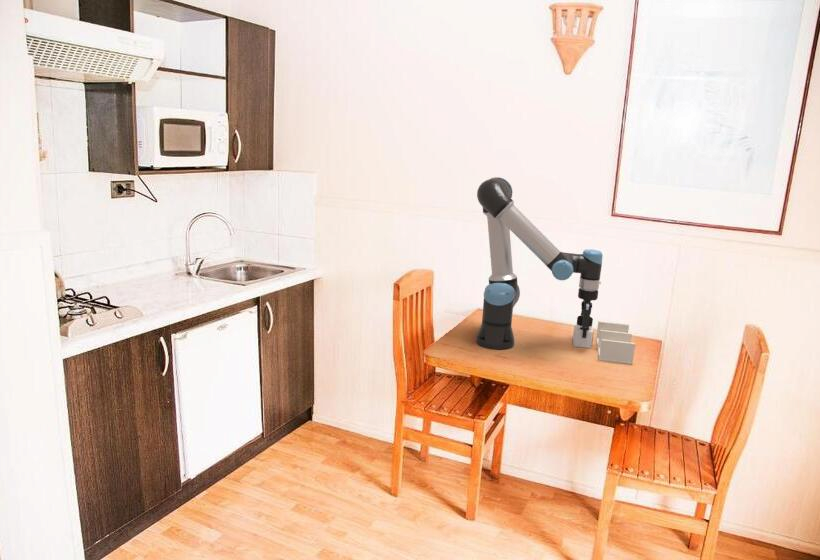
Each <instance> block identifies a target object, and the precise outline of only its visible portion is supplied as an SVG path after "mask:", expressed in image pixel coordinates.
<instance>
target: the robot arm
mask: <svg viewBox="0 0 820 560" xmlns="http://www.w3.org/2000/svg"><path fill="white" fill-rule="evenodd" d="M476 197H477V201H478V203H479V205H480V206H481V207H482V214H483V215H485V216H486V217H487V218H486V219H487V231H488V242H489V253H490V254H489V255H490V266H491V274H490V276H489V277H488V285H486V287H485V288H484V292H483V305H482V306H483V307H482V316H481V317H482V320H481V324H480V327H479V329H478V332H477V334H476V337H475V342H476V344H477V345H479V346H480V347H484V348H488V349H492V350H507V349H508V350H509V349H511V348H513V347H514V346H515V335H514V331H513V328H512V321H513V311H514V308H515V306H516V305H517V303H518V302H519V299H520V296H521V290H520V286H519V285H518V276H517V275H516V274H515V273H514V271H513V270H514V269H513V258H512V257H513V256H512V243H511V241H512V240H511V232H512V234H514V235H515V236H516V238H518V239H519V240H520V242H521V243H523V244H524V245H525V246H526V248H528V249H529V250H530V251H531V252H532V253H533V254H534V256H535V257H537V258H538V259H539V261H541V262H542V263H543V265H545V266H546V267H547V268H548V269H549V270H550V271H551V273H552V276H553V277H554V278H555V279H556V280H558V281H566V280H568V279H570V277H572V274H579V276H580V277H579V283H578V293H577V296H578V299H581V300H583V301H581V312H580V316H581V315H583V320H582V327H580V329H581V335H580V343H579V345H585V346H587V338H588V330H589V321H590V317H591V314H592V309H593V303H592V301H596V300H597V299H598V296H599V288H600V285H601V283H602V282H601V281H600V279H601V272H602V267H603V266H602V265H603V253H602V251H600V250H597V249H590V248H589V249H584V250H583V251H582V253H579V254H578V253H573V252H572V253H570V252H563V251H561V250H560V249H559V248H558V247H556V246H555V245H554V243H553V242H551V241H550V240H549V239H548V238H547V236H546V235H544V234H543V232H542V231H540V229H539V228H538V227H536V225H534V224H533V222H532V221H530V219H528V218H527V217H526V215H525V214H523V212H522V211H521V210H519V208H518V207H516V205H515V204H514V203H515V202H514V200H513V199H512V197H513V187H512V185H511V184H510V182H509V181H508V180H507V179H505V178H503V177H499V176H498V177H495V176H494V177H491V178H489V179H486V180H484V181H483V182H481V183H480V185H479V186H478V188H477V192H476ZM584 326H587V327H584Z"/></svg>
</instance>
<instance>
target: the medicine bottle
mask: <svg viewBox="0 0 820 560" xmlns="http://www.w3.org/2000/svg"><path fill="white" fill-rule="evenodd" d="M593 319H594V318H592V317H591V316H590V321H589V330H588V338H587V346H585V345H579V343H580V335H581V329H580V327H582V320H583V315H581V314H580V315H578V316H577V317H576V324H574V325H573V326H574V327H573V334H572V345H573V347H575V348H583V349H592V347H593V339H594V329H593V321H594V320H593ZM584 327H587V326H584Z"/></svg>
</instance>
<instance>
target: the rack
mask: <svg viewBox="0 0 820 560" xmlns="http://www.w3.org/2000/svg"><path fill="white" fill-rule="evenodd" d="M629 328H630V324H626V323H621V322H620V323H619V322H611V321H610V322H609V321H602V320H601V321H600V320H598V323H597V329H596V338H595V339H596V340H595V341H596V346H597V347H596V348H597V354H598V360H599V361H603V362H613V363H618V364H619V363H621V364H626V365H627V364H628V365H633V362H634V356H635V349H636V348H635V347H636V342H632V338H633V337H632V336H633V333H632V332H629V331H630V330H629Z"/></svg>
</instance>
